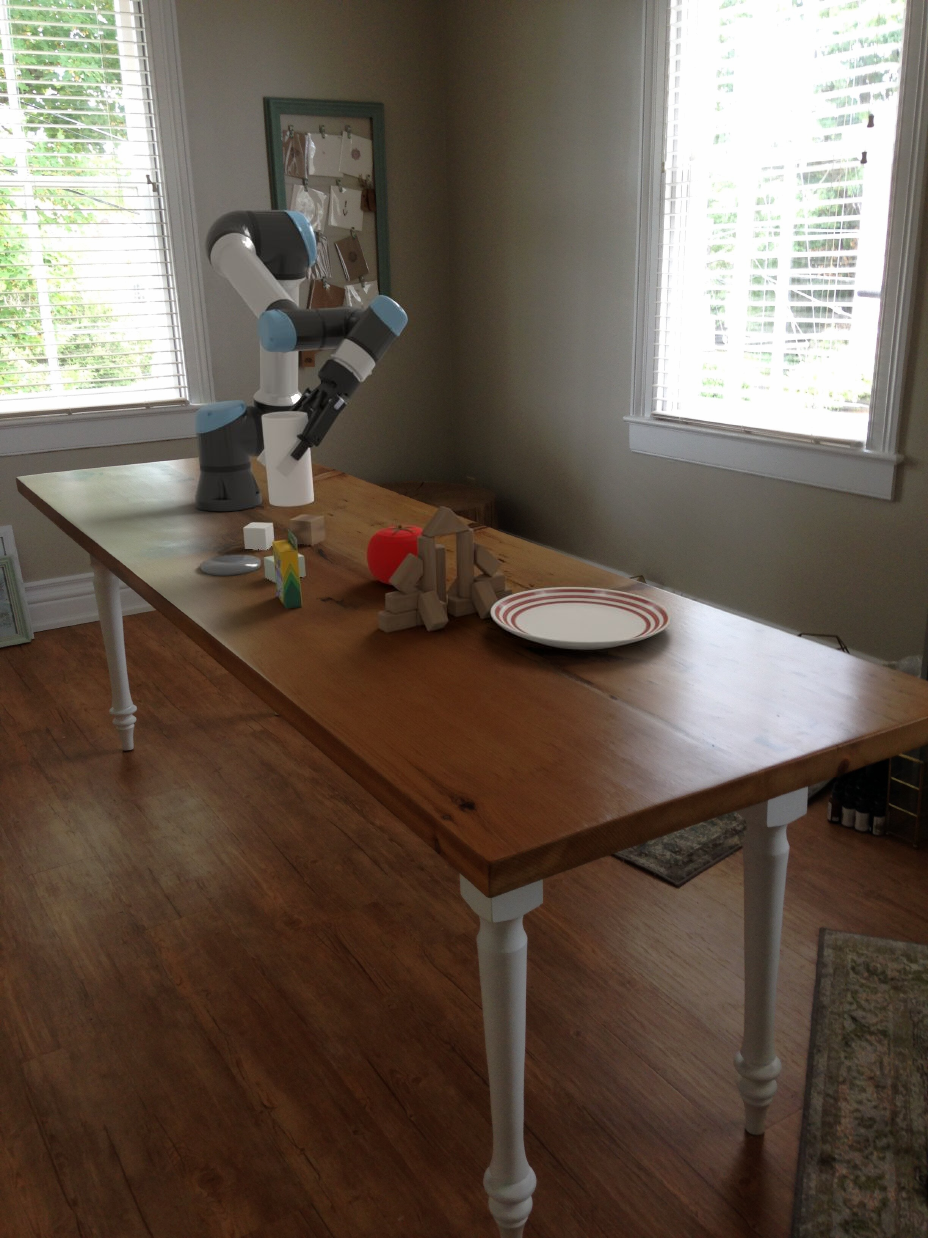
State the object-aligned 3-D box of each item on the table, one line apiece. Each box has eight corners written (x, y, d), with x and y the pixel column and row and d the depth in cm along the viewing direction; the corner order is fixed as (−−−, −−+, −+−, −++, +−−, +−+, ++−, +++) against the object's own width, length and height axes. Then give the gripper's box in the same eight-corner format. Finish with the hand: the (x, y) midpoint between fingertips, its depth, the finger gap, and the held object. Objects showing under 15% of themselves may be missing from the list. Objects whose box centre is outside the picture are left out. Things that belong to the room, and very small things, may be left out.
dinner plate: (557, 592, 178) (557, 573, 177) (703, 624, 161) (704, 604, 160) (453, 636, 158) (453, 615, 157) (608, 678, 141) (609, 655, 140)
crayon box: (276, 596, 177) (270, 530, 173) (293, 594, 178) (288, 528, 174) (284, 609, 171) (279, 540, 167) (302, 607, 171) (297, 538, 168)
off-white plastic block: (245, 549, 206) (243, 527, 204) (253, 543, 210) (251, 522, 209) (266, 550, 205) (265, 528, 204) (274, 544, 209) (272, 522, 208)
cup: (318, 495, 197) (311, 410, 192) (308, 506, 190) (301, 418, 184) (275, 496, 198) (267, 411, 192) (264, 506, 190) (256, 418, 185)
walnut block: (291, 543, 210) (289, 519, 208) (304, 537, 214) (303, 514, 212) (312, 546, 208) (310, 521, 206) (325, 540, 212) (324, 516, 210)
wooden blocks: (402, 643, 155) (397, 526, 149) (363, 620, 165) (358, 510, 159) (536, 611, 168) (537, 503, 162) (493, 592, 178) (492, 489, 172)
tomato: (375, 595, 177) (372, 535, 173) (362, 576, 187) (359, 519, 184) (443, 588, 180) (441, 529, 176) (427, 570, 190) (425, 514, 187)
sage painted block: (265, 578, 187) (263, 557, 186) (295, 572, 191) (293, 551, 190) (276, 583, 184) (274, 562, 183) (305, 577, 188) (304, 555, 187)
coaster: (189, 567, 194) (188, 563, 194) (239, 555, 202) (239, 551, 201) (222, 579, 187) (221, 574, 187) (272, 566, 194) (272, 562, 194)
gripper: (385, 389, 186) (309, 490, 184) (335, 378, 203) (265, 471, 200) (356, 361, 182) (278, 464, 179) (308, 352, 198) (236, 446, 196)
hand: (271, 467), depth 190 cm, fingers closed on cup, 8 cm apart
